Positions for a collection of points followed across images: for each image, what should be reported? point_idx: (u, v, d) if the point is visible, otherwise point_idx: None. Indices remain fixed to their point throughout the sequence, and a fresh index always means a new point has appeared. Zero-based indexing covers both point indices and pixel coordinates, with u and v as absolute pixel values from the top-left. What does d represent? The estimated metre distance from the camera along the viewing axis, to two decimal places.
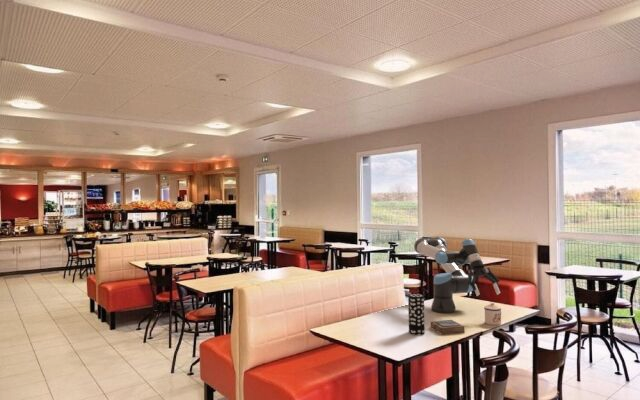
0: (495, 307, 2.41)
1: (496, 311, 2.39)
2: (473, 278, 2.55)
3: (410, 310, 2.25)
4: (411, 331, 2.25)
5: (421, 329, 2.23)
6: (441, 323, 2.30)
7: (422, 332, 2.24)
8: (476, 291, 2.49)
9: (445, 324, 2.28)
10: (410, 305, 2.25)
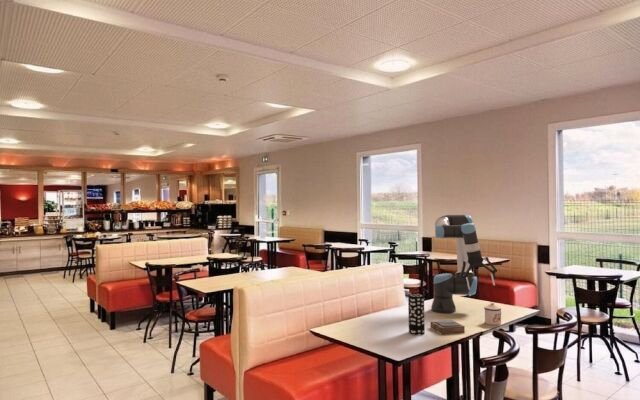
0: (495, 307, 2.41)
1: (496, 311, 2.39)
2: (467, 270, 2.42)
3: (410, 310, 2.25)
4: (411, 331, 2.25)
5: (421, 329, 2.23)
6: (441, 323, 2.30)
7: (422, 332, 2.24)
8: (467, 285, 2.42)
9: (445, 324, 2.28)
10: (410, 305, 2.25)
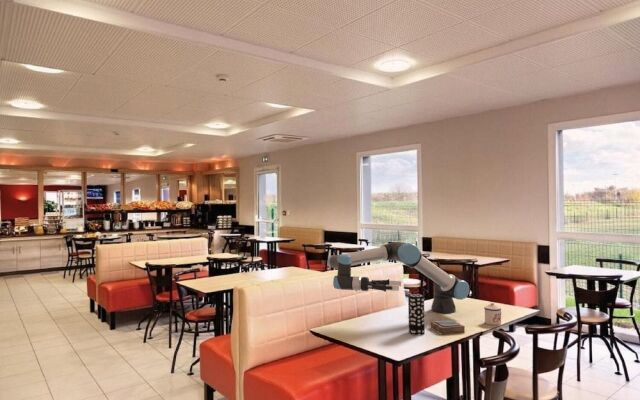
0: (495, 307, 2.41)
1: (496, 311, 2.39)
2: None
3: (410, 310, 2.25)
4: (411, 331, 2.25)
5: (421, 329, 2.23)
6: (441, 323, 2.30)
7: (422, 332, 2.24)
8: None
9: (445, 324, 2.28)
10: (410, 305, 2.25)
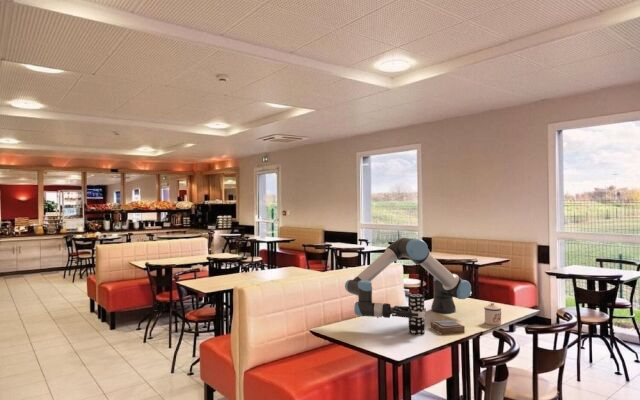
0: (495, 307, 2.41)
1: (496, 311, 2.39)
2: None
3: (410, 310, 2.25)
4: (411, 331, 2.25)
5: (421, 329, 2.23)
6: (441, 323, 2.30)
7: (422, 332, 2.24)
8: None
9: (445, 324, 2.28)
10: (410, 305, 2.25)
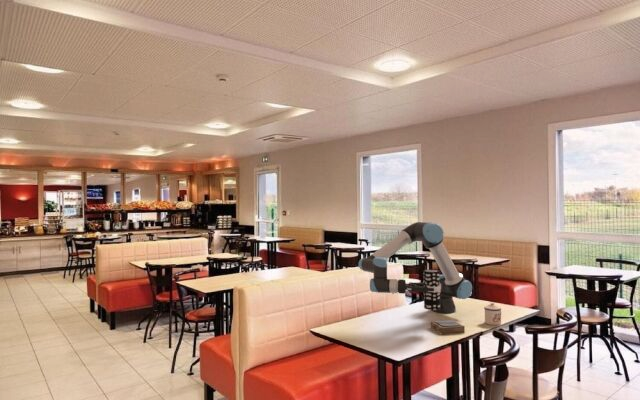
0: (495, 307, 2.41)
1: (496, 311, 2.39)
2: None
3: (425, 285, 2.27)
4: (427, 306, 2.26)
5: (436, 304, 2.25)
6: (441, 323, 2.30)
7: (437, 307, 2.25)
8: None
9: (445, 324, 2.28)
10: (425, 280, 2.27)
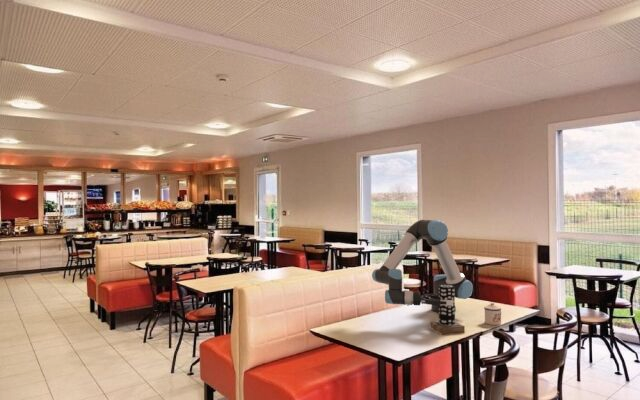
0: (495, 307, 2.41)
1: (496, 311, 2.39)
2: None
3: None
4: (442, 321, 2.29)
5: (452, 319, 2.27)
6: None
7: (453, 322, 2.28)
8: None
9: None
10: (441, 295, 2.29)
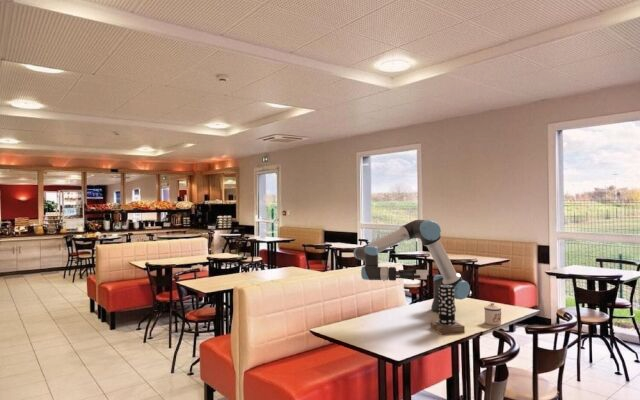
0: (495, 307, 2.41)
1: (496, 311, 2.39)
2: None
3: (441, 300, 2.29)
4: (442, 321, 2.29)
5: (452, 319, 2.27)
6: None
7: (453, 322, 2.28)
8: None
9: None
10: (441, 295, 2.29)
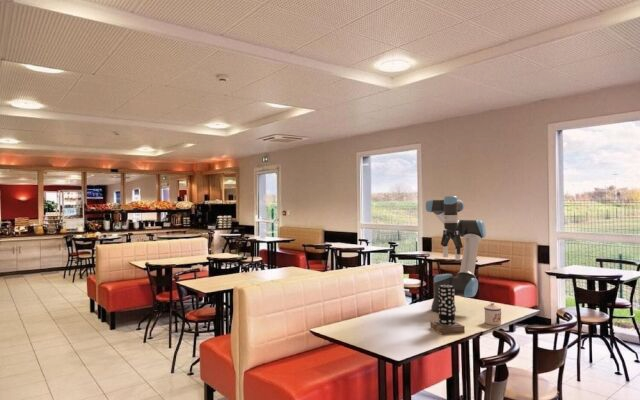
0: (495, 307, 2.41)
1: (496, 311, 2.39)
2: None
3: (441, 300, 2.29)
4: (442, 321, 2.29)
5: (452, 319, 2.27)
6: None
7: (453, 322, 2.28)
8: None
9: None
10: (441, 295, 2.29)
